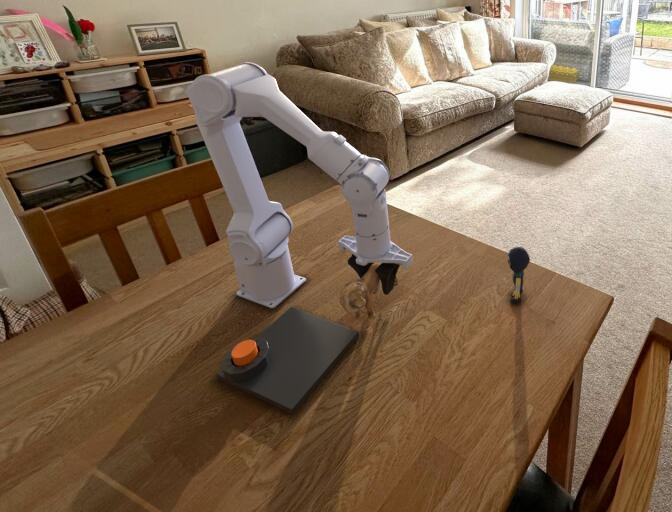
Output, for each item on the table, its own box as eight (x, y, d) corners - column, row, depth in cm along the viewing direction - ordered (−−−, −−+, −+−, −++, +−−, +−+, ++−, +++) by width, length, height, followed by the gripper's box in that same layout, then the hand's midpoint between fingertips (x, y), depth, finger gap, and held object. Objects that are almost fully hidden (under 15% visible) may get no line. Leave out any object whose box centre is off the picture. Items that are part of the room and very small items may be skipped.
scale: (216, 379, 62) (212, 365, 60) (292, 311, 74) (289, 298, 73) (292, 415, 57) (288, 401, 56) (359, 336, 69) (357, 323, 68)
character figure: (507, 280, 82) (509, 232, 78) (527, 281, 82) (530, 233, 78) (505, 317, 74) (506, 264, 69) (527, 318, 74) (530, 265, 69)
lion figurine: (370, 337, 67) (357, 295, 64) (341, 336, 68) (327, 295, 65) (404, 275, 81) (395, 238, 77) (379, 275, 81) (369, 238, 78)
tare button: (228, 362, 61) (226, 354, 61) (247, 345, 64) (245, 337, 64) (244, 369, 60) (241, 360, 60) (262, 351, 63) (260, 343, 63)
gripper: (321, 230, 69) (332, 291, 74) (393, 251, 65) (399, 314, 70) (350, 209, 75) (358, 267, 80) (417, 226, 71) (421, 287, 76)
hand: (379, 287), depth 76 cm, fingers closed on lion figurine, 4 cm apart
